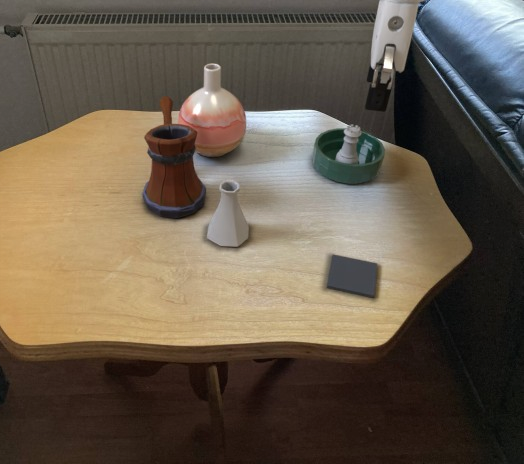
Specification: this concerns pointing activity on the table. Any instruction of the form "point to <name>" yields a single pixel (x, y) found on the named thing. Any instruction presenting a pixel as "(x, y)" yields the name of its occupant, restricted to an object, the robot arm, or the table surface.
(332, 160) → the bowl
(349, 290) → the mat
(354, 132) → the rook chess piece
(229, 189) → the flask
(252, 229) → the table surface
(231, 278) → the table surface
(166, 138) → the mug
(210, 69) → the vase
